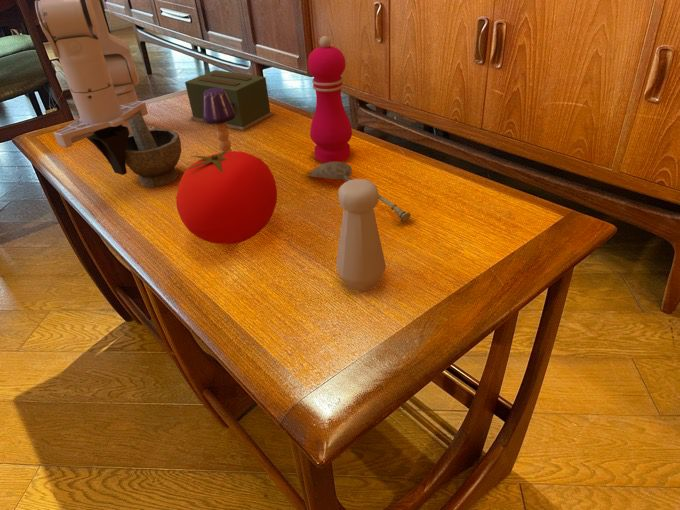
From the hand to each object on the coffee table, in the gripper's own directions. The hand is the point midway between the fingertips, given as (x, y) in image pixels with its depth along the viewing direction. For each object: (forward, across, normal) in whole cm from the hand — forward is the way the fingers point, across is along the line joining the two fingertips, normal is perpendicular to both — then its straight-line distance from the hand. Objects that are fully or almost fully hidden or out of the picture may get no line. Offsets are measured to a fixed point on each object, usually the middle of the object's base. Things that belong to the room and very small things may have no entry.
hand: (120, 172), depth 80 cm
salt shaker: (+4, -2, -45) cm, 45 cm away
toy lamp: (+4, +7, -17) cm, 19 cm away
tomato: (+4, -1, -24) cm, 24 cm away
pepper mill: (+4, +26, -23) cm, 35 cm away
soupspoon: (+4, +16, -34) cm, 38 cm away
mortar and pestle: (+4, +6, 0) cm, 7 cm away
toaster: (+3, +33, +7) cm, 34 cm away
